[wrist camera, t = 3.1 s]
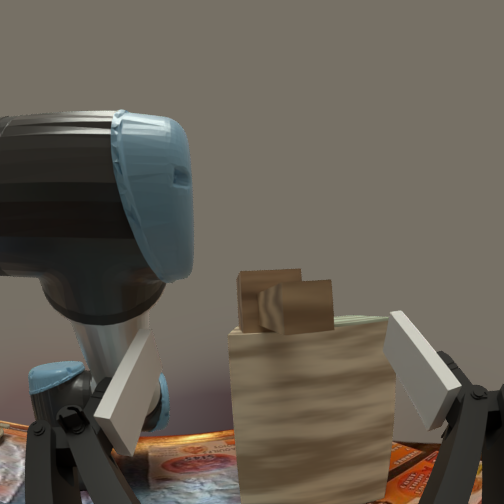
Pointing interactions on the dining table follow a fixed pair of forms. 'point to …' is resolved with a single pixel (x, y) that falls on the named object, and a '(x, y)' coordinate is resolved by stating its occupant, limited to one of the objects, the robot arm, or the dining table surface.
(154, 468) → the dining table surface
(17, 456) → the dining table surface
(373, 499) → the stand
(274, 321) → the mallet
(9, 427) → the tableware set
